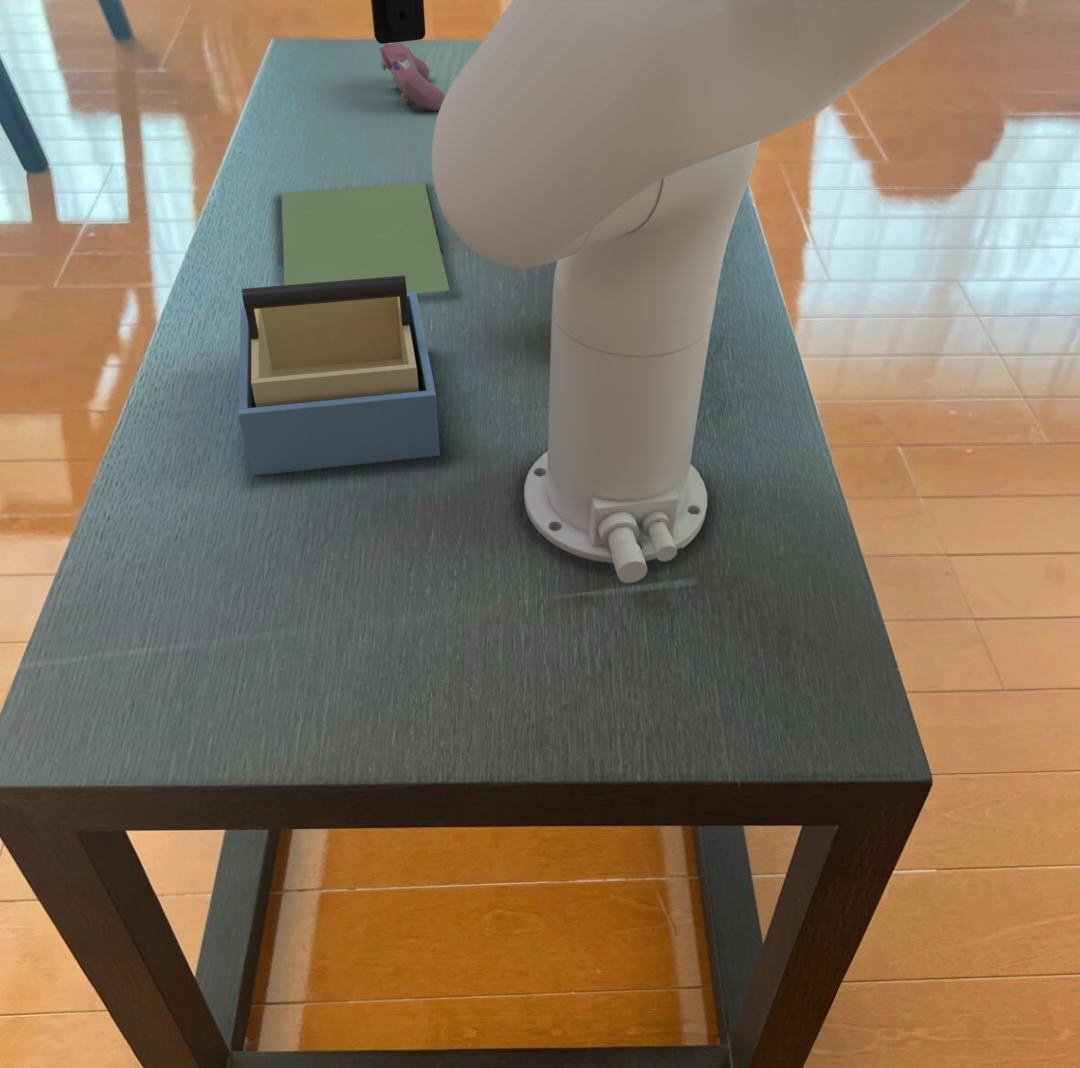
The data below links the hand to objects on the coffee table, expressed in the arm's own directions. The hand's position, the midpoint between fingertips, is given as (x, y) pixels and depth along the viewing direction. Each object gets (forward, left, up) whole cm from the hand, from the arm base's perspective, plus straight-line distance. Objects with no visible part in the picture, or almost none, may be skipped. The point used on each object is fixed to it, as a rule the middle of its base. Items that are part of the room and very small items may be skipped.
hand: (382, 14), depth 71 cm
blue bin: (-10, +6, -25) cm, 28 cm away
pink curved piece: (+47, -5, -25) cm, 53 cm away
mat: (+15, +3, -25) cm, 29 cm away
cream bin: (-10, +6, -24) cm, 27 cm away
